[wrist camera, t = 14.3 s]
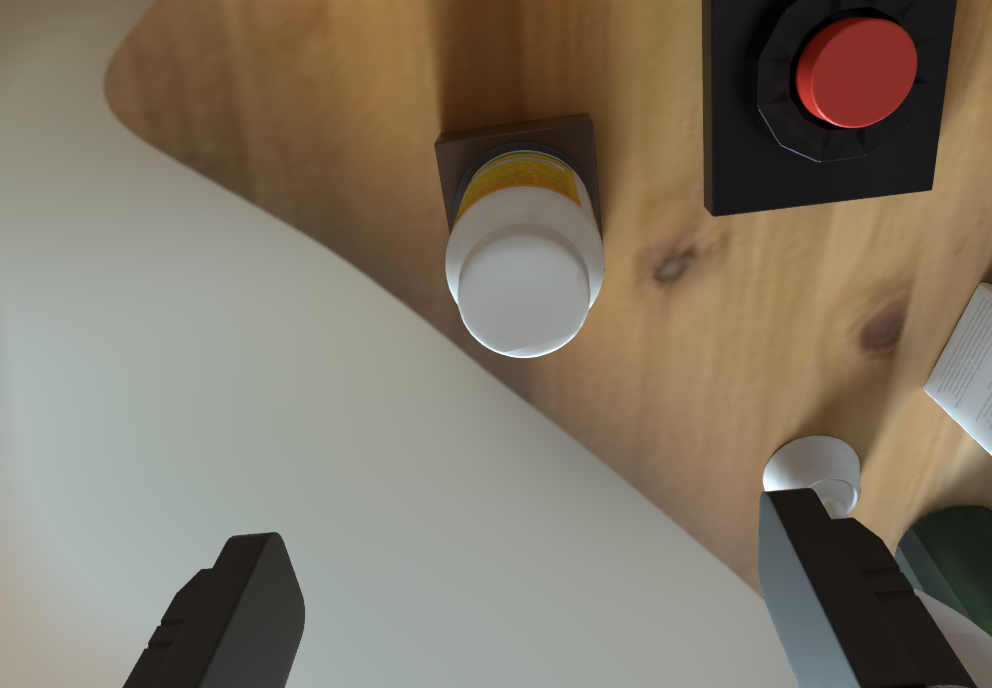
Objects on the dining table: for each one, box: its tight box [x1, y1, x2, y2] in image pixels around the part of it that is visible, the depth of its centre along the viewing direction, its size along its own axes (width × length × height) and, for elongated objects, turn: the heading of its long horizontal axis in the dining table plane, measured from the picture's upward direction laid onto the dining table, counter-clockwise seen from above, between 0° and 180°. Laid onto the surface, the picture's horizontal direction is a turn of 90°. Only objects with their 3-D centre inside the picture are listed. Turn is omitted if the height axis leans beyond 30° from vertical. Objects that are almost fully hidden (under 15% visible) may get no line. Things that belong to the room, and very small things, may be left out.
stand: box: [434, 113, 605, 272], centre depth 31 cm, size 6×6×2 cm
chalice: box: [763, 435, 992, 688], centre depth 30 cm, size 7×7×18 cm
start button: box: [795, 17, 917, 128], centre depth 26 cm, size 4×4×2 cm
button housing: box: [702, 0, 957, 217], centre depth 28 cm, size 11×9×4 cm
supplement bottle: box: [445, 150, 605, 358], centre depth 26 cm, size 5×5×10 cm
